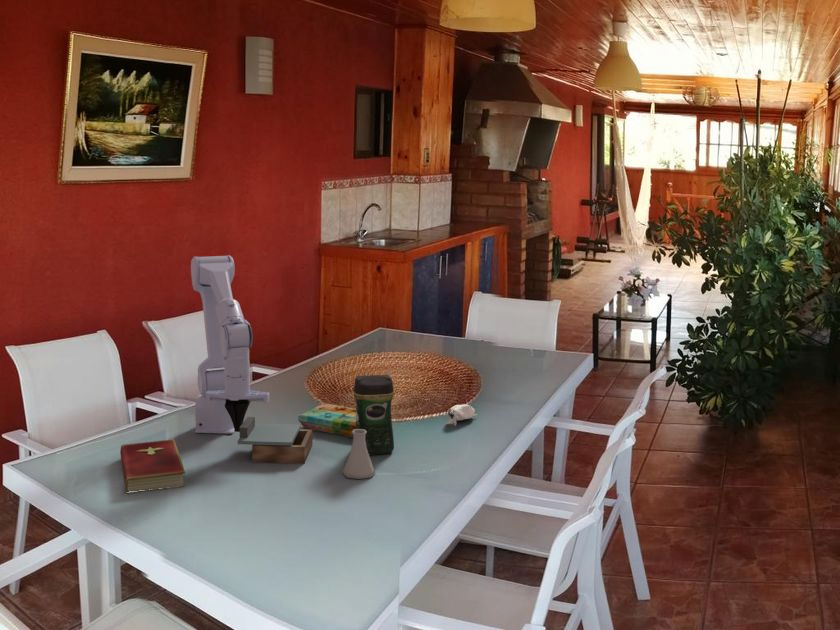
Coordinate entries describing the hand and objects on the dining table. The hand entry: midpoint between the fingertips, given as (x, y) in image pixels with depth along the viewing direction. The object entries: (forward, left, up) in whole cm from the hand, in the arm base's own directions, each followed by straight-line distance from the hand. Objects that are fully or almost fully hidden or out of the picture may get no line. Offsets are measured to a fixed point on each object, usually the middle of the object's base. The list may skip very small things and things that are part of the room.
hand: (238, 430), depth 202 cm
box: (+10, 0, -5) cm, 12 cm away
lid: (+7, 0, -1) cm, 7 cm away
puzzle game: (+23, +19, -6) cm, 30 cm away
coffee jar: (+31, +4, -6) cm, 32 cm away
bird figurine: (+53, +28, -6) cm, 60 cm away
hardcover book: (-16, -14, -6) cm, 22 cm away
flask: (+29, -11, -6) cm, 32 cm away
